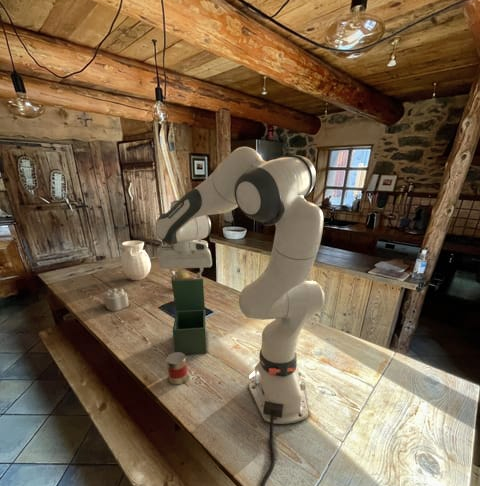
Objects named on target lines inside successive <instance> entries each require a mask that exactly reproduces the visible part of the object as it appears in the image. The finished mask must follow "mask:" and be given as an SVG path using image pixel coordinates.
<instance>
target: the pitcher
mask: <svg viewBox="0 0 480 486" xmlns="http://www.w3.org/2000/svg"><path fill="white" fill-rule="evenodd" d="M121 245H122V248H123V249H124V252H122V254H121V255H120V258H121V268H122V272H123V273H124V275H125V276H126V277H127V278H129V279H130V280H132V281H141V280H144V279H145V278H146V277H147V276H148V275H149V273H150V271H151V269H152V264H151V259H150V256H149V254H148V253H147V252H146V249H144V245H145V241H143V240H128V241H127V240H126V241H124V242H121Z"/></svg>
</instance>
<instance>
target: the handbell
mask: <svg viewBox="0 0 480 486" xmlns="http://www.w3.org/2000/svg"><path fill="white" fill-rule="evenodd" d="M174 273H175V274H177V277H178V278H177V279H173V275H172V274H171V277H170V281H171V280H182V278H187V277H190V273H189V272H188V271H187V270H185V269H184V270H183V269H178V270H177V271H176V272H174Z"/></svg>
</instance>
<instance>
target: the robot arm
mask: <svg viewBox="0 0 480 486" xmlns="http://www.w3.org/2000/svg"><path fill="white" fill-rule="evenodd" d="M316 181H317V172H316V168H315V166H314V164H313V163H312V161H311V159H309V158H307V157H305V156H302V155H298V154H297V155H296V154H288V155H283V156H275V157H274V158H273V159H271V160H267V161H266V160H264V159H263V158H262V156H261V154H260V153H259V152H258V151H257V150H256V149H254V148H252V147H249V146H240V147H237V148H236V149H234V150H233V151H232V152H231V153H228V155H227V156H225V158H223V160H221V162H220V163H219V164H218V165H217V166H216V168H215V169H214V170H213V172H211V173H210V175H209V176H207V177H206V179H204V180H203V181H202V182H201V183H199V184H198V185H197V186H195V187H194V188H192V189H191V190H189V191H188V192H186V193H185V194H184V195H183V196H182V197H181V198H180V199H179V200H177V199H176V200H173V201H172V202H170V208H169V210H168V211H167V212H166V213H165V212H164V213H161V214H160V216H159V217H158V218H157V219H156V223H155V232H156V235H157V237H158V239H159V240H160V241H162V242H163V243H165V244H160V245H159V246H158V247H157V249H156V250H157V256H159V257H158V258H159V261H158V264H159V265H158V266H159V268H160V269H161V270H169V272H170V274H171V276H172V275H173V279H177V278H178V277H177V274H175V273H176V272H175V271H174V270H175V269H178V270H179V269H199V272H197V273H196V277H197V278H196V279H202V273H203V272H204V268H205V269H206V268H212V266H213V258H212V253H211V250H210V248H209V243H208V241H206V240H203V239H206V238H207V237H208V236H209V235H210V233H211V229H212V222H211V218H210V217H209V216H212V215H220V214H226V213H229V212H231V211H233V210H235V209H237V208H238V209H239V210H240V211H241V212H242V214H244V215H245V216H246V217H248V218H249V219H251V220H254V221H255V222H256V221H257V222H260V224H262V225H263V226H267V227H268V226H273V225H274V227H275V232H274V238H273V243H272V247H271V253H270V257H269V261H268V264H267V266H266V268H265V269H264V271H263V272H262V273H261V274H260V275H259V277H258V278H256V279H255V280H254V281H253V282H251V283H249V284H248V285H245V286H244V287H243V288H242V290H241V291H240V294H239V298H238V305H239V309H240V312H241V313H242V315H244V316H245V317H246V318H247V319H251V320H258V321H259V320H261V321H265V320H272V321H271V322H269V323H268V324H266V325H265V327H264V328H263V329H262V332H261V346H260V350H259V356H258V357H259V359H258V360H259V361H258V363H257V364H256V365H255V366H254V371H253V372H252V373H250V374H249V379H251V378H252V377H253V381H251V382H250V383H249V384H248V389H249V392H250V394H251V396H252V398H253V400H254V402H255V405H256V406H257V408H258V410H259V412H260V414H261V416H262V418H263V420H264V421H265V422H268V423H269V447H270V454H271V460H270V465H269V468H268V470H267V471H266V473H265V475H264V477H263V478H262V480H261V483H260V486H266V484H267V481H268V479H269V477H270V476H271V474H272V472H273V470H274V467H275V464H276V452H275V446H274V437H273V435H274V434H273V433H274V424H275V425H286V424H294V423H298V422H301V421H303V420H305V419H306V418H308V417H309V410H308V405H307V400H306V399H307V398H306V396H305V395H306V394H305V391H306V384H305V382H303V380H302V379H301V378H300V377H302V372H301V371H298V370H299V369H298V363H297V362H298V359H297V346H298V345H297V343H298V339H299V335H300V333H301V331H302V329H303V328H304V326H305V325H306V324H307V323H308V321H309V320H311V318H312V317H314V316H315V315H316V314H318V313H320V312H321V310H322V309H323V307H324V305H325V302H326V296H325V292H324V289H323V287H322V285H320V283H318V281H313V280H308V279H309V277H310V275H311V273H312V270H313V267H314V264H315V262H316V258H317V255H318V252H319V249H320V245H321V241H322V238H323V237H322V236H323V229H324V220H325V218H324V217H325V216H324V213H323V210H322V209H321V208H320V207H319V206H318V205H317V204H316V203H314V202H311V201H307V199H305V198H306V197H307V196H309V194H310V193H311V192H312V190H313V189H314V187H315V185H316Z"/></svg>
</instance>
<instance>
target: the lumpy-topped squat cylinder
mask: <svg viewBox="0 0 480 486" xmlns="http://www.w3.org/2000/svg"><path fill="white" fill-rule="evenodd" d="M128 297H129V296H128V293H127V292H126V291H125V290H124V289H123V288H111V289H108V290H106V291H105V292H103V299H104V304H105V307H106V309H107V310H109V311H112V312H118V311H120V310H122V309H126V308H128V307H129V305H130V303H129V298H128Z"/></svg>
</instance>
